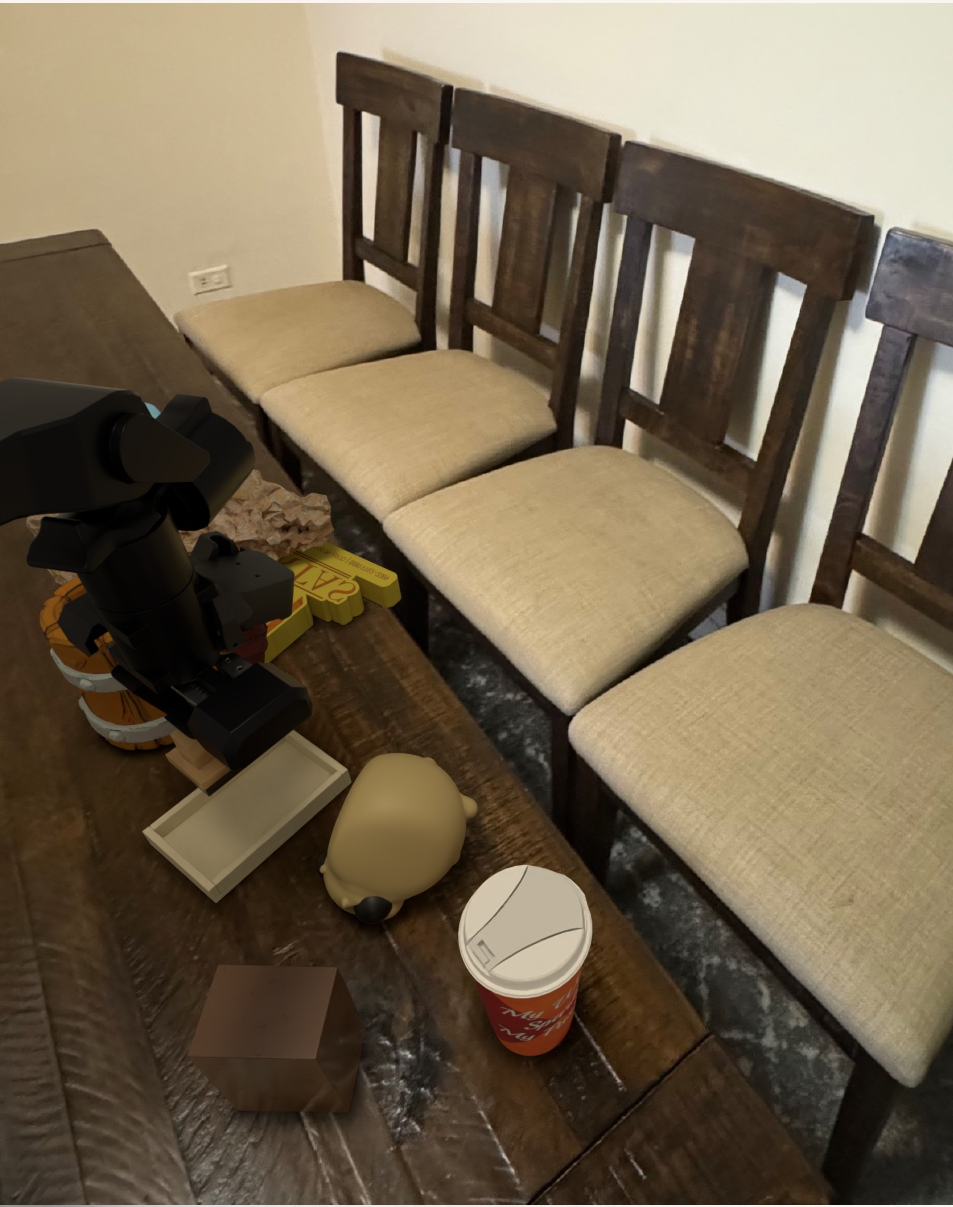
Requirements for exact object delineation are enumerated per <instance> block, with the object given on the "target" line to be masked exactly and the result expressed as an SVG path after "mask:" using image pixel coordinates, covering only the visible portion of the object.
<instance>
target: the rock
mask: <svg viewBox="0 0 953 1207" xmlns="http://www.w3.org/2000/svg"><path fill="white" fill-rule="evenodd" d="M331 513H332V505H331V503H330V502H329V500H328V496H327V495H325V494H319V493H316V492H311V493H309V494H307V495H305V496H301V497H300V496H299V495H298V494H297V493H295V492H294V491H290V490H287V489H285V488H284V487H283V486H281V485H280V484H278V483H276V482H270V481H266V480H264V479H263V475H262V474H261V472H260V470H258V469H255V468H254V469H253V471H252V473H251V474H250V475H249V477H248V478H247V479H246V480H245V481H244V483H243V484H242V485H241V486H240V488H239V489H238V490H237V491H236V492H235V494H234V495H233V496H232V497H231V499H230V500H229V501H228V502H227V503H226V505H225V506H224V507H223V508H222V510H221V511H220V512H219V513H218V515H217V516H216V517H215V518H214V519H213V521H212V522H211V523H210V524H209V525H208V526H207V527H205V528H204V529H201V530H198V531H180V530H178V531H179V533H180V535H181V538H182V540H183V543H184V545H185V547H186V550H187V552H188V555H189V557H190V555H191V552H192V550H193V548H194V546H195V544H196V542H197V540H198V538H199V536H200V534H204V533H208V532H213V531H219V532H221V533H222V534H224V535H225V536H227V537H229V538H230V539H232V540H233V541H234V542H235V544H236V545H237V547H238V549H239V551H240V547H241V546H246V547H248V548H249V549H251V550H253V551H259V552H262V553H264V554H266V555H268V556H269V557H271V558H273V559H274V560H276V561H279V560H280V558H281V557H283V556H288V555H290V554H292V553H293V552H295V551H299V550H302V551H303V552H304V551H305V550H307V549H310V548H313V547H320V546H323V544H324V543H325V542H328V541H327V540H328V536H329V535H330V534H331V533H332V532H333V531H335V528H334V526H333V522H332V520H331ZM58 514H59V513H58ZM58 514H44V515H35V516H30V517H26V527H27V529H28V531H29V532H30V533H31V535H32V536H33V537H34V538H35V537H36V536H37V534H38V532H39V529H40V521H41V519H42V518H43V517H44V516H51V517H56V516H57V515H58ZM46 571H48V572H49V573H50V575H51V576H52V577H53V580H54V582H56V583H57V584H59V585H61V586H62V585H63V584H65V583H66V582H68V581H70V580H72V579H74V578H76V577H77V574H76V573H72V572H64V571H57V570H50V569H46Z"/></svg>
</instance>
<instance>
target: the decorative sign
mask: <svg viewBox="0 0 953 1207" xmlns="http://www.w3.org/2000/svg"><path fill="white" fill-rule="evenodd" d="M278 562H279V563H281V564H282V565H284V566H286V567H287V568H289V569H291V570H292V571H293V572H294V574H295V578H294V593H293V608H292V615H291V616H290V617H288V618H286V619H283V620H280V619H276V620H273V621H270V622H267V623H266V625H267V626H268V631H267V640H268V648H267V650H266V651H265V662H264V663H271V662H272V661H274V659H275V658H277V657H278V656H280V654H281V653H282V652H283V651H284V650H286V649H287V648H288V647H289V646H290V645H292V644H293V643H294V642H295V641H297V639H299V638H300V637H301V636H302V635H303V634H304V633H305V632H307V631H308V630H309V629H310V628H311V627H312V626H313V625H314V619H313V618H314V617H317V618H318V619H321V620H322V621H325V622H328V623H329V622H331V621H333V622H335V623H337V624H339V625H341V626H346V625H348V623H350V622H351V621H352V620H354V617H358V616H360V615H361V614H363V612H364V610H365V605H364V600H363V598H364V599H367V600H369V601H371V602H373V603H376V604H377V605H380V606H381V607H384V608H391V607H392V608H393V607H395V605H396V604H397V603H399V602H400V601H401V600H402V593H401V589H400V583H399V577H398V575H397V573H396V572H394V571H392V570H389V569H388V568H385V567H383V566H381V565H378V564H376V563H374V562H371V561H369V560H367V559H365V558H363V557H361V556H358V555H357V554H354V553H352V552H350V551H347V550H345V549H343V548H340V547H339V546H337V545H334V544H332V543H330V542H328V541H326V542H325V543H324V544H323V546H320V547H313V548H310V549H307V550H305V551H304V552H303V551H302V550H299V551H295V552H293V553H292V554H290V555H288V556H283V557H281V558H280V560H279V561H278ZM313 616H314V617H313Z"/></svg>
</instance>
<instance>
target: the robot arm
mask: <svg viewBox="0 0 953 1207" xmlns="http://www.w3.org/2000/svg"><path fill="white" fill-rule="evenodd" d="M145 403H146V402H144V401H143V399H142V397H141V395H140V393H138V392H137V391H134V390H131V389H128V388H118V387H109V386H100V385H91V384H84V383H74V382H66V381H58V380H48V379H40V378H31V377H23V376H21V377H19V376H17V377H16V376H15V377H13V376H12V377H9V378H6V379H4V380H1V381H0V527H2V526H4V525H6V524H9V523H11V522H14V521H16V520H21V519H25V518H28V517H30V516H35V515H44V514H58V513H59V514H58V515H57V516H56V517H51V516H44V517H43V518H42V519H41V521H40V529H39V532H38V534H37V536H36V537H34V538H33V540H31V541H30V543H29V545H28V549H27V553H26V556H25V563H26V565H27V566H28V567H31V568H37V569H45V570H47V569H50V570H57V571H64V572H72V573H76V574H77V576H78V577H79V579H80V581H81V583H82V585H83V586H84V588H85V590H86V593H85V594H83V595H81V596H79V597H78V598H76V599H74V600H72V601H71V602H69V603H67V604H65V605H64V607H63V610H62V612H61V614H60V616H59V619H58V621H57V623H58V625H59V626H60V628H61V630H62V631H63V633H64V635H65V636H66V638H67V639H68V641H69V642H70V643H72V644H73V645H74V646H75V647H77V648H78V649H79V650H80V651H82V652H83V653H84V654H85V655H87V656H88V657H89V658H90V657H92V656H93V655H95V654H96V653H98V652H99V648H98V646H97V644H96V643H95V641H94V640H96V639H97V638H99V637H101V636H102V635H104V634H105V633H107V632H109V634H110V636H111V637H112V639H113V641H114V643H112V644H111V645H109V646H108V647H107V648H106V650H107V651H108V653H109V654H110V655H111V657H112V658H113V660H114V661H115V662H117V663H118V665H117V666H115V667H114V668H113V669H112V671H111V676H112V677H113V678H114V679H115V680H117V681H118V682H119V683H120V684H122V685H123V686H124V687H125V688H127V689H128V690H129V691H130V692H132V693H133V694H134V695H136V696H138V697H139V698H141V699H142V700H144V701H146V702H147V703H149V704H151V705H152V706H154V707H156V708H157V709H159V710H160V711H162V712H164V713H165V714H167V715H166V716H165V717H164V718H165V719H166V720H167V721H168V722H169V723H171V724H172V725H173V726H174V727H176V728H177V729H178V730H179V731H181V732H182V733H183V734H184V735H186V736H187V737H188V738H190V739H196V740H197V741H198V742H199V743H200V745H201V746H202V747H203V748H204V749H205V750H206V751H207V752H209V753H210V754H211V755H212V756H214V757H215V758H216V759H217V760H219V761H220V762H221V763H222V764H224V765H225V766H226V767H227V768H229V769H230V770H238V769H245V768H246V767H248V766H249V765H250V764H251V763H253V762H254V761H255V760H256V759H258V758H259V757H260V756H261V755H263V754H264V753H265V752H266V751H268V750H269V749H270V748H271V747H273V746H274V745H275V744H276V743H278V742H279V741H280V740H281V739H283V738H284V737H285V736H286V735H288V734H289V733H290V732H291V731H293V730H294V731H295V729H297V728H298V727H300V725H302V724H303V723H304V722H305V721H307V720H308V719H309V718H310V717H311V716H313V706H314V705H313V702H312V699H311V696H310V694H309V690H308V688H307V687H306V686H305V684H302V683H301V682H300V681H298V680H296V679H295V678H293V677H292V676H291V675H289V674H288V673H287V672H285V671H284V670H282V669H281V668H279V667H278V666H277V665H275V664H274V663H272V662H269V663H259V662H256V663H255V664H253V665H252V664H251V663H250V662H248V661H247V660H245V659H244V658H242V657H241V656H240V655H238V654H236V653H233V652H231V651H233V650H234V649H236V648H237V647H239V646H240V645H241V644H243V643H244V642H246V641H245V638H244V636H243V633H242V631H241V630H243V629H249V628H252V627H255V626H258V625H261V624H264V623H267V622H270V621H273V620H276V619H280V620H283V619H286V618H288V617H290V616H291V615H292V608H293V593H294V578H295V574H294V572H293V571H292V570H291V569H289V568H287V567H286V566H284V565H282V564H281V563H279V562H278V561H276V560H274V559H273V558H271V557H269V556H268V555H266V554H264V553H262V552H259V551H253V550H251V549H249V548H248V547H246V546H241V547H240V551H239V549H238V547H237V545H236V544H235V542H234V541H233V540H232V539H230V538H229V537H227V536H225V535H224V534H222V533H221V532H219V531H213V532H208V533H204V534H200V536H199V538H198V540H197V542H196V544H195V546H194V548H193V550H192V552H191V555H190V557H189V555H188V552H187V550H186V547H185V545H184V543H183V540H182V538H181V535H180V533H179V531H178V530H180V531H198V530H201V529H204V528H205V527H207V526H208V525H209V524H210V523H211V522H212V521H213V519H214V518H215V517H216V516H217V515H218V513H219V512H220V511H221V510H222V508H223V507H224V506H225V505H226V503H227V502H228V501H229V500H230V499H231V497H232V496H233V495H234V494H235V492H236V491H237V490H238V489H239V488H240V486H241V485H242V484H243V483H244V481H245V480H246V479H247V478H248V477H249V475H250V474H251V473H252V471H253V469H254V470H255V467H256V452H255V449H254V446H253V444H252V442H251V441H249V440H247V438H246V437H245V435H244V434H243V433H242V431H240V430H239V429H238V428H237V426H236V425H234V424H233V423H232V422H230V421H229V420H228V419H227V418H225V417H223V416H221V415H219V414H217V413H216V412H213V410H212V407H211V404H210V401H209V399H208V397H206V396H201V395H200V396H199V395H198V396H197V395H191V394H183V393H176V395H174V396H173V397H172V398H170V400H169V401H168V402H167V403H166V405H165V407H164V408H163V410H162V411H160V412H161V414H160V415H159V416H158V417H157V418H153V417H152V415H151V413H150V411H149V410H148V408H147V406H146V404H145ZM223 650H227V651H228V652H229V653H225V654H220V653H221V652H222V651H223ZM214 666H216V669H217V670H216V669H214V668H213V667H214Z"/></svg>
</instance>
